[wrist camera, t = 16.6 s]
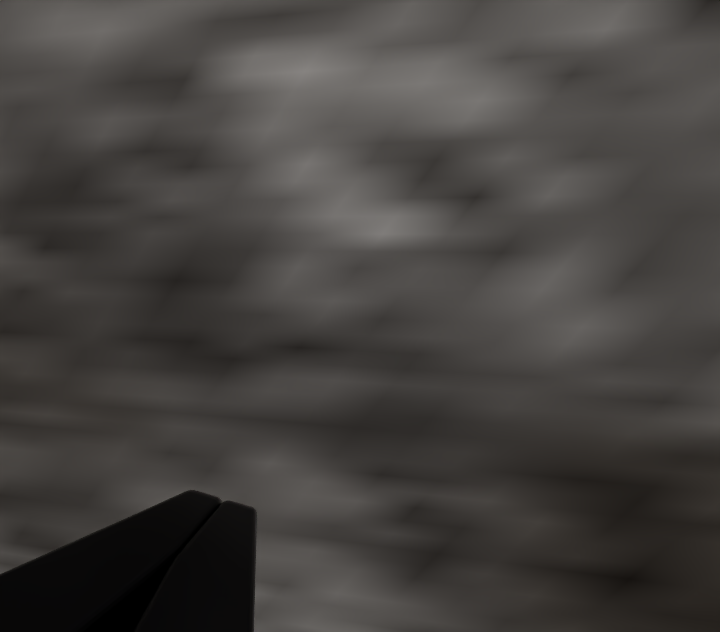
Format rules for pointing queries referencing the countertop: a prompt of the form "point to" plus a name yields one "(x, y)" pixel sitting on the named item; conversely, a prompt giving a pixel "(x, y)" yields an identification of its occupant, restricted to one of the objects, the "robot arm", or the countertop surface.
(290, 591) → the countertop surface
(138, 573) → the robot arm
